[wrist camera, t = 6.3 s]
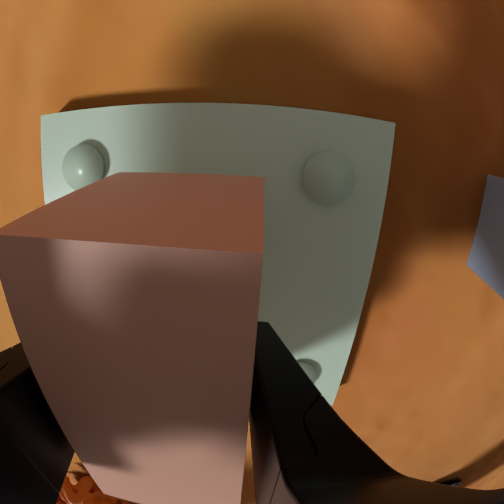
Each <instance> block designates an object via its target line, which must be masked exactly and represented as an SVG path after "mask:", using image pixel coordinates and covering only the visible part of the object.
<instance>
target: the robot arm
mask: <svg viewBox="0 0 504 504" xmlns="http://www.w3.org/2000/svg"><path fill="white" fill-rule="evenodd" d="M249 422H250V435H251V448H252V461H253V473H254V485H255V497H256V504H504V488H502V489H496V490H477V489H469V488H462V487H458V486H459V485H460V484H461V480H460V479H458V480H454V481H451V482H447V483H444V484H439V483H434V482H429V481H424V480H419V479H415V478H411V477H407V476H405V475H403V474H401V473H399V472H397V471H396V470H394V469H393V468H391V467H390V466H389V465H388V464H387V463H385V462H384V461H383V460H382V459H381V458H380V457H379V456H378V455H377V454H376V453H375V452H374V451H373V450H372V449H371V448H370V447H369V446H368V445H367V444H365V443H364V442H363V441H362V440H361V439H360V438H359V437H358V436H357V435H356V434H355V433H354V432H353V431H352V430H351V429H350V428H349V426H348V425H347V424H346V423H345V422H344V421H343V420H342V419H341V418H340V417H339V416H338V414H337V413H336V412H335V411H334V409H333V408H332V407H331V406H330V404H329V403H328V402H327V400H326V399H325V398H324V396H322V394H321V393H320V391H319V390H318V389H317V387H316V386H315V385H314V383H313V382H312V381H311V379H310V378H309V377H308V375H307V374H306V373H305V371H304V370H303V368H302V367H301V366H300V364H299V363H298V362H297V360H296V359H295V358H294V356H293V355H292V354H291V352H290V351H289V350H288V348H287V347H286V345H285V344H284V343H283V341H282V340H281V339H280V337H279V336H278V334H277V333H276V332H275V330H274V329H273V328H272V326H271V325H270V323H269V322H263V321H258V323H257V335H256V346H255V357H254V368H253V379H252V390H251V401H250V411H249ZM74 452H75V451H74V449H73V448H72V446H71V444H70V443H69V441H68V439H67V437H66V436H65V434H64V432H63V431H62V429H61V427H60V425H59V423H58V422H57V420H56V418H55V416H54V414H53V412H52V410H51V408H50V407H49V405H48V403H47V401H46V399H45V397H44V395H43V392H42V390H41V388H40V386H39V384H38V382H37V380H36V377H35V375H34V373H33V371H32V368H31V366H30V364H29V361H28V359H27V356H26V354H25V351H24V349H23V346H22V344H21V343H19V344H17V345H15V346H13V348H12V347H10V348H8V349H6V350H4V351H2V352H0V504H56V503H57V500H58V497H59V493H60V491H61V488H62V485H63V482H64V479H65V476H66V474H67V471H68V468H69V466H70V463H71V460H72V457H73V455H74Z"/></svg>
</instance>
